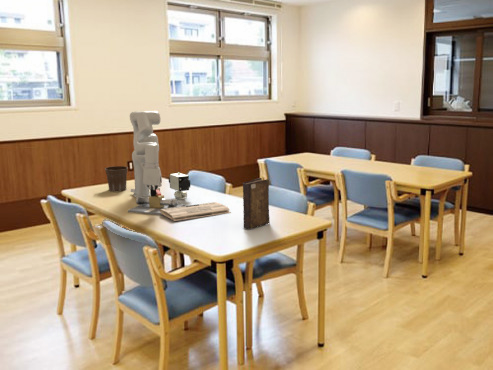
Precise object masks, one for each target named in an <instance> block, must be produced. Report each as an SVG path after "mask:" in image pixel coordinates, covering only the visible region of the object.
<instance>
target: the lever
mask: <svg viewBox="0 0 493 370" xmlns="http://www.w3.org/2000/svg"><path fill="white" fill-rule="evenodd" d="M156 194H157V195H158V196H161V195H162V192H161V187H158V188H157V189H156Z"/></svg>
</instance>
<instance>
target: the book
mask: <svg viewBox="0 0 493 370" xmlns="http://www.w3.org/2000/svg"><path fill="white" fill-rule="evenodd" d="M269 187H270V178H266V179H263V177H258V178H256V179H251V180H249V181H248V180H247V181H244V182H243V183H242V199H243V203H242V206H243V218H242V219H243V229H247V230H254V229H256V228H259V227H262V226H266V225H265V224H267V225H269V224H270V203H269V202H270V201H269V200H270V199H269V198H270V197H269V196H270V195H269V192H270V190H269ZM268 223H269V224H268Z"/></svg>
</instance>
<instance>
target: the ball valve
mask: <svg viewBox="0 0 493 370" xmlns="http://www.w3.org/2000/svg"><path fill="white" fill-rule="evenodd" d="M168 184H169V188H170V189H172V190H174V193H173V195H174V198H176V199H177V200H185V198H187V197H188V192H187V191H190V188H191V180H190V176H189V175H187V174H185V173H181V172H179V171H178V172H176V173H169V177H168Z"/></svg>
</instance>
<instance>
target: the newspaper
mask: <svg viewBox="0 0 493 370" xmlns="http://www.w3.org/2000/svg"><path fill="white" fill-rule="evenodd" d="M160 213H162V214H163V215H162V216H165V217H166V218H168V219H170V220H171V221H174V222H177V221H184V220H192V219H197V218H198V219H199V218H202V217H203V218H205V217H210V216H218V215H223V214H230V213H231V211H230V208H229V207H228V206H226V205H224V204H223V203H220V202H217V201H214V202H207V203H199V204H191V205H185V206H182V207H174V208H167V209H160Z"/></svg>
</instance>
